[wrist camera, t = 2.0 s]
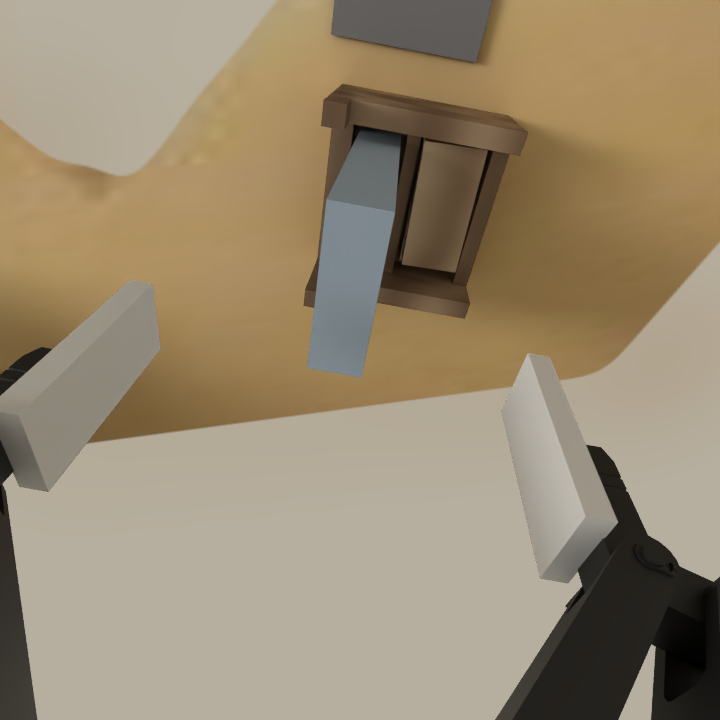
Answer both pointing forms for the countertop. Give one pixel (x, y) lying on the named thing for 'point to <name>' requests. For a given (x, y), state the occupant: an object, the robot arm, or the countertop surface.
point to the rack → (414, 123)
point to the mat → (416, 24)
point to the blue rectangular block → (354, 252)
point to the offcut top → (442, 204)
